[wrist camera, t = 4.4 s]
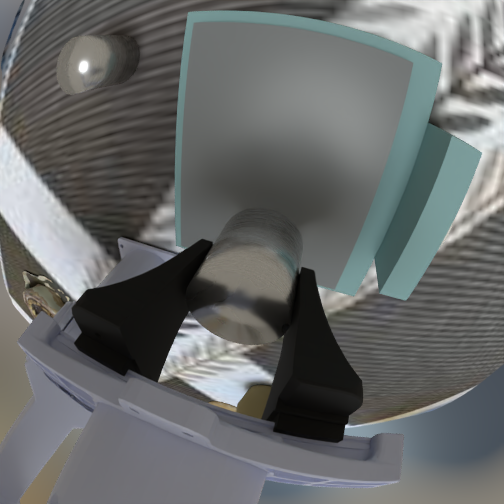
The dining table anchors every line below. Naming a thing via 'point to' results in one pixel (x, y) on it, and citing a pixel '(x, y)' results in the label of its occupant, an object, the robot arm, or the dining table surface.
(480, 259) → the dining table surface
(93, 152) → the dining table surface
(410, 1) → the dining table surface
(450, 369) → the dining table surface
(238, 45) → the pan
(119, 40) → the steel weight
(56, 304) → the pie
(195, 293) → the cylinder
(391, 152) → the scale
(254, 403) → the squeeze bottle
